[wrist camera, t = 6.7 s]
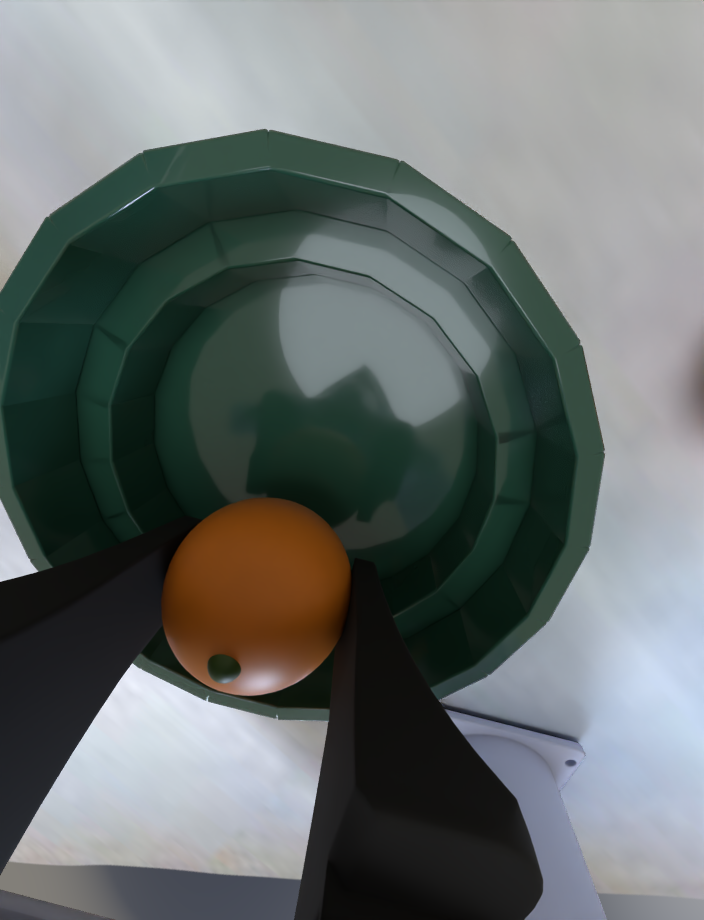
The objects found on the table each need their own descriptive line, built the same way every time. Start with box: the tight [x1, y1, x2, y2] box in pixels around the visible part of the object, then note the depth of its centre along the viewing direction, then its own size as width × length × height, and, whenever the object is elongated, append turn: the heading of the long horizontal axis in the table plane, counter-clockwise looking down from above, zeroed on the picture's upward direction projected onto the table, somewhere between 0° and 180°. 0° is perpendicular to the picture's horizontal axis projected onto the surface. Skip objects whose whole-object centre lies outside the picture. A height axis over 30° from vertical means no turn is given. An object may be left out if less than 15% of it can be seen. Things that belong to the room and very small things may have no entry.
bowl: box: [0, 129, 605, 722], centre depth 11 cm, size 15×15×5 cm
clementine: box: [161, 497, 352, 696], centre depth 10 cm, size 5×5×5 cm
